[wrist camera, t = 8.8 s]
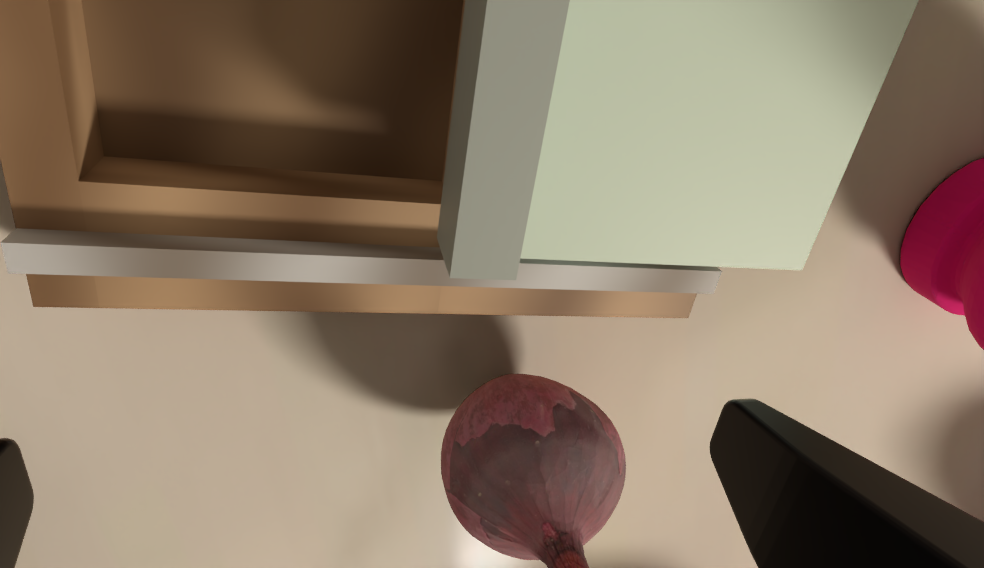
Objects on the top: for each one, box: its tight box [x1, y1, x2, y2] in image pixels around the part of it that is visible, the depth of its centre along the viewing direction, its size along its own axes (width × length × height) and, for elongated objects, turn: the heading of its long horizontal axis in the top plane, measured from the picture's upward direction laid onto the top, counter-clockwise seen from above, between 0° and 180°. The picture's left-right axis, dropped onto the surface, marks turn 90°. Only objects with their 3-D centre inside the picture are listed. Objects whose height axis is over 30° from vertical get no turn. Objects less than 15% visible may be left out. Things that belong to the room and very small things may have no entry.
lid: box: [437, 0, 919, 280], centre depth 15 cm, size 12×11×3 cm
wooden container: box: [0, 0, 722, 318], centre depth 15 cm, size 19×16×3 cm
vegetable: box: [441, 374, 626, 568], centre depth 20 cm, size 6×6×10 cm
